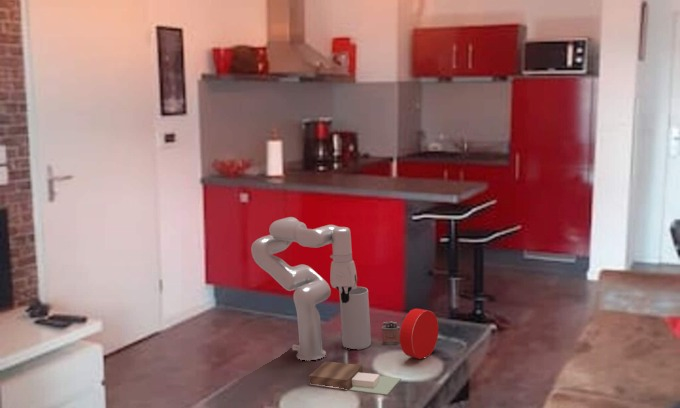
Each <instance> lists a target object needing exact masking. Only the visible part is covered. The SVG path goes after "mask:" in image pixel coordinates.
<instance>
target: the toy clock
mask: <svg viewBox="0 0 680 408" xmlns="http://www.w3.org/2000/svg"><path fill="white" fill-rule="evenodd" d="M438 339H439V323H438V318H437V316H436V314H435V313H434V312H433V311H431V310H428V309H423V308H422V309H421V308H413V309H411V310H409V312H408V313H407V314H406V315H405V317H404V319H403V321H402V324H401V326H400V344H399V345H400V348H401V350H402V352H403V353H404V355H406V356H408V357H410V358H415V359H420V360H422V359H421V358H424V357H427V356H428V357H430V355H431V354H432V353H433V352H434V349H435V348H436V346H437V342H438ZM428 357H427V358H428Z"/></svg>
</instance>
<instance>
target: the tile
mask: <svg viewBox="0 0 680 408" xmlns="http://www.w3.org/2000/svg"><path fill="white" fill-rule="evenodd" d="M380 376H381V375H380V374H377V373H369V372H363V373H360V372H358V373H357V374H356V375H355V376H354V377H353V378H352V386H351V387H353V386H360V387H370V388H374V387H375V386H376V385H377V384H378V383H379V381H380Z"/></svg>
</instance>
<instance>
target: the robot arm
mask: <svg viewBox="0 0 680 408" xmlns="http://www.w3.org/2000/svg"><path fill="white" fill-rule="evenodd" d="M268 231H269V234H268V235H264V236H261V237H260V238H257V239H256V240H255V241H253V242H252V244H251V249H250V250H251V256H252V258H253V261H254V262H255V263H256V264H257V265H258V266H259V268H261V269H262V270H263V271H265V272H266V273H267V274H269V275H270V276H271V277H272V278H273V279H274V280H275V281H276V283H278V284H279V285H280V286H282V288H283V289H285V290H286V291H288V292H291V291H294V292H293V302H294V306H295V310H296V317H297V328H298V342H299V344H292V347H291V348H292V352H297V353H296V358H297V360H299V359H300V360H299V361H302V360H305V361H304V362H311V361H310V360H316V361H318V360H317V359H320V360H322V359H324V358H325V357H326V356H327V352H326V350H324V349H323V343H322V342H323V341H322V327H321V326H322V325H321V316H320V312H319V310H318V309H317V306H316V305H318V304H320V303H323V302H325V301H326V300H328V299H329V298H330V296H331V293H332V292H331V291H332V290H331V288H330V285H331V287H332V288H334V289H336V290H337V291H338V293H339V292H340V293H341V300H342V303H347V302H348V301H349V292H350V291H351V290H352V289H356V288H357V287H358V285H357V283H358V276H357V269H356V264H355V261H354V260H353V251H352V250H353V249H352V236H351V234H352V233H351V229H350V228H349V227H346V226H338V225H335V224H327V225H324V226H323V225H322V226H320V227H316V228H313V229H312V228H308V227H307V225H306V223H304V222H302V221H300V220H299V219H297V218H296V217H293V216H289V217H284V218H281V219H277V220H275V221H273V222H272V223H271V224H270V225H269V230H268ZM293 242H294V243H297V244H299V245H300V246H302V247H306V248H307V247H308V248H315V249H316V248H320V247H324V246H326V245H330V244H332V245H331V246H332V254H330V255H329V257H330V258H331V259H332V261H331V263H330V285H329V283H328V282H327V280H325V279H324V278H323V277H322V276H321V275H320V274H318V272H317V271H315V270H314V269H313V267H311V266H309V265H306V264H303V263H302V264H298V265H294V266H291V265H289V264H288V263H287V262H286V261H284V259H282V258H280V257H278V256H276V254H277V253H280V252H283V251H285V250H287V248H289V246H290V245H291V244H292V243H293ZM274 254H275V255H274ZM325 355H326V356H325ZM323 357H324V358H323ZM321 358H322V359H321ZM306 360H307V361H306ZM308 360H309V361H308Z"/></svg>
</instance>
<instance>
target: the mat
mask: <svg viewBox="0 0 680 408" xmlns="http://www.w3.org/2000/svg"><path fill="white" fill-rule="evenodd" d="M401 380H402V378H399V377H391V376H384V375H380V381H379V383H378V384H377V385H376V386H375V387H374V388H370V387H360V386H351V387H350V388H349V390H350V391H351V392H359V393H367V394H373V395H374V394H375V395H376V394H377V395H380V396H381V395H383V396H388V395H389V394H390V393H391V391H392V390H393V389H394V388H395V387H396V386H397V385H398V384H399V382H400V381H401Z"/></svg>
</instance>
